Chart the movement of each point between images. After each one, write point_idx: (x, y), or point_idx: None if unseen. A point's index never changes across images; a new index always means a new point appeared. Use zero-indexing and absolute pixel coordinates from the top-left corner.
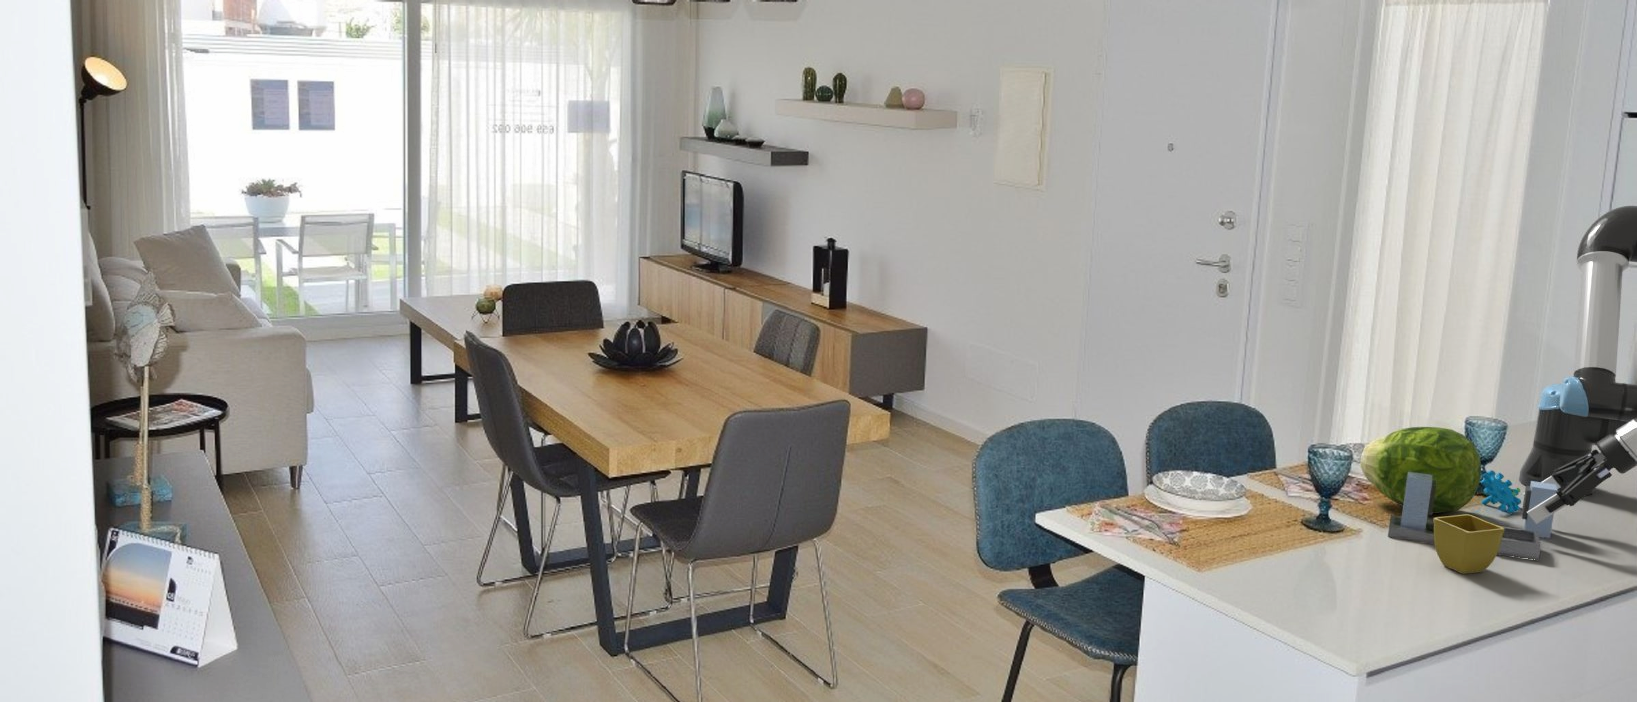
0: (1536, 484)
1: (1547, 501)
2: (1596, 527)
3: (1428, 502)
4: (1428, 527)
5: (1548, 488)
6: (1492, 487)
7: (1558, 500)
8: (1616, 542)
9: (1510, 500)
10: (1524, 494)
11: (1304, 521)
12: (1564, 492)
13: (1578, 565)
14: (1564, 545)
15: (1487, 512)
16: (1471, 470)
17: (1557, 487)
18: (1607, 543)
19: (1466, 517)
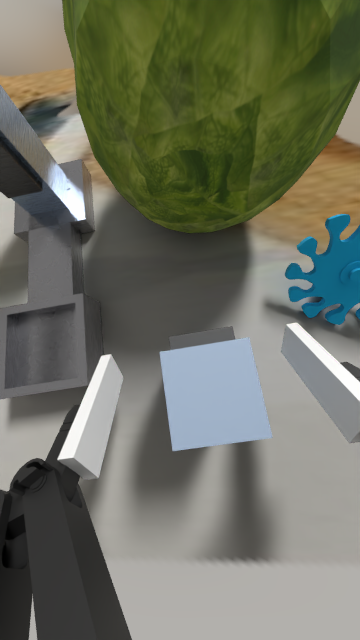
0: (207, 362)
1: (79, 414)
2: (354, 492)
3: None
4: (46, 215)
5: (177, 413)
6: (333, 248)
7: (48, 460)
8: (260, 542)
9: (340, 300)
10: (286, 327)
11: (38, 102)
12: (24, 507)
13: None
14: (155, 429)
15: (277, 275)
16: (126, 144)
17: (343, 429)
18: (235, 520)
19: None
